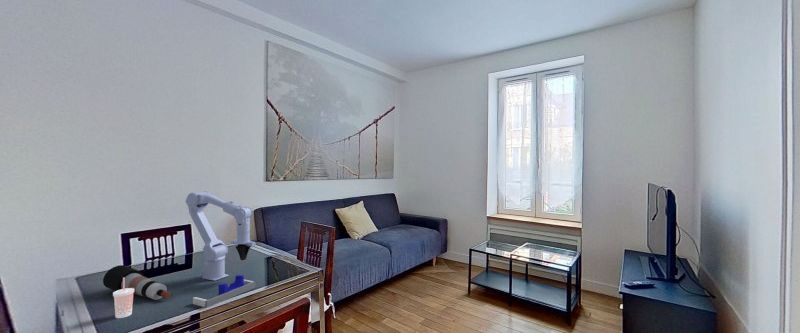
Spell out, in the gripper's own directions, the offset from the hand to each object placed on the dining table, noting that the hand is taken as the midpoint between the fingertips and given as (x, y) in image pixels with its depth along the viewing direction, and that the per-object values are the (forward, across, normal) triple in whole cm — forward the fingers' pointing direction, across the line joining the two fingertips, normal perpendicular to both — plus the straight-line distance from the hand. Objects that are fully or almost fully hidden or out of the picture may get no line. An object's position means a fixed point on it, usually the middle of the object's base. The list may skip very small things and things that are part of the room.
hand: (243, 259), depth 155 cm
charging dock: (+9, +10, -17) cm, 22 cm away
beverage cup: (+10, -8, -45) cm, 47 cm away
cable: (+10, -24, -32) cm, 41 cm away
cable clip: (+10, +10, -15) cm, 20 cm away
